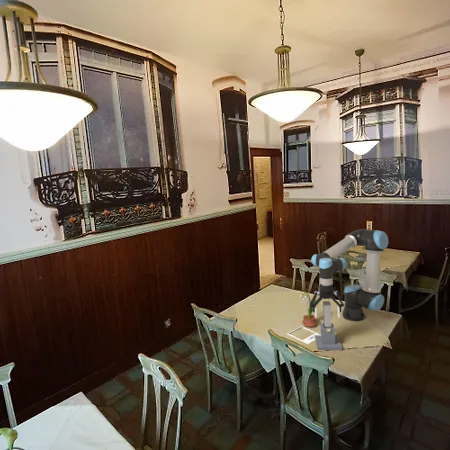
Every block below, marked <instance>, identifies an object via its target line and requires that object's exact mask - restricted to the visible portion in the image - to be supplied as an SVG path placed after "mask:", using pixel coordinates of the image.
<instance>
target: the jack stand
mask: <svg viewBox="0 0 450 450" xmlns="http://www.w3.org/2000/svg"><path fill="white" fill-rule="evenodd" d="M319 323H320V322H319ZM320 334H321V335H315V340H316V341H315V344H316V348H317V350H318V351H343V346H342V344H341V342H340V338H339V336H338V335H336V329H335V326H334V323H332V322H331V328H324V322H323V323H322V322H321V323H320Z"/></svg>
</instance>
